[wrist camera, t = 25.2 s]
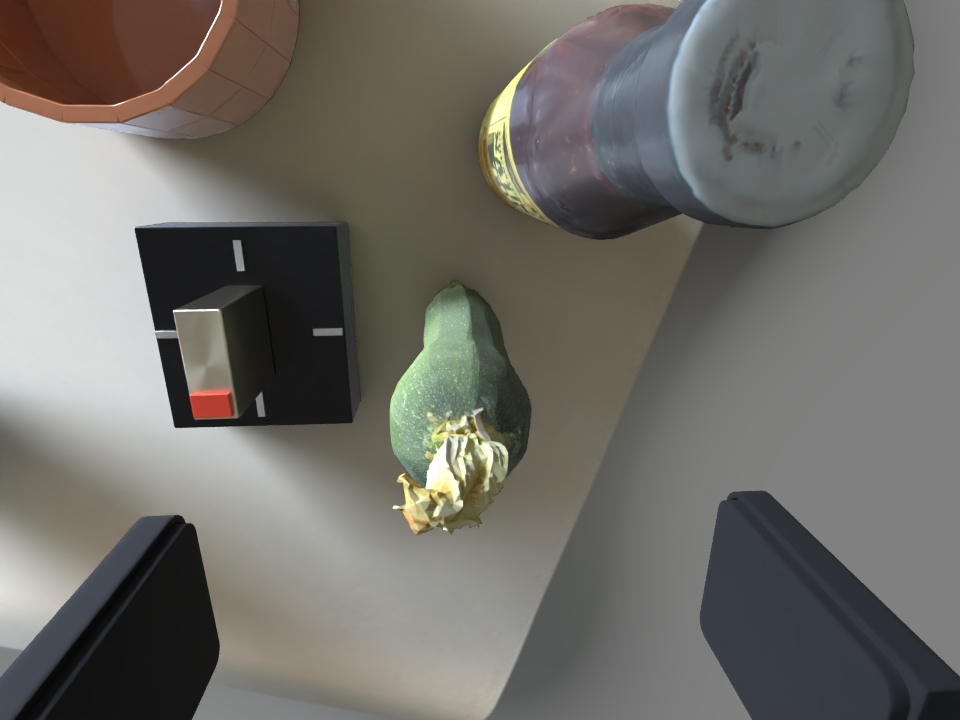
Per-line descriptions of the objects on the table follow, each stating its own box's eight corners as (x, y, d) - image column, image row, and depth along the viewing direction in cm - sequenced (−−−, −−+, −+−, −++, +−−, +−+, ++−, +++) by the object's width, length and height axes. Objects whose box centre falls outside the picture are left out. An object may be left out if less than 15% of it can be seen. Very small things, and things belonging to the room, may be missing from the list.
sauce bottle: (450, 159, 26) (467, 100, 8) (531, 50, 25) (787, -342, 6) (548, 242, 28) (759, 360, 9) (628, 143, 27) (1064, 49, 8)
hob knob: (223, 286, 25) (168, 311, 20) (263, 285, 25) (217, 310, 20) (238, 377, 26) (190, 422, 21) (275, 376, 26) (236, 421, 21)
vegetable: (508, 324, 29) (623, 580, 10) (445, 367, 30) (447, 683, 11) (462, 258, 28) (498, 415, 9) (397, 305, 29) (305, 543, 10)
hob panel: (166, 222, 27) (131, 227, 24) (347, 221, 27) (335, 226, 24) (199, 405, 30) (172, 429, 27) (361, 401, 30) (352, 425, 27)
